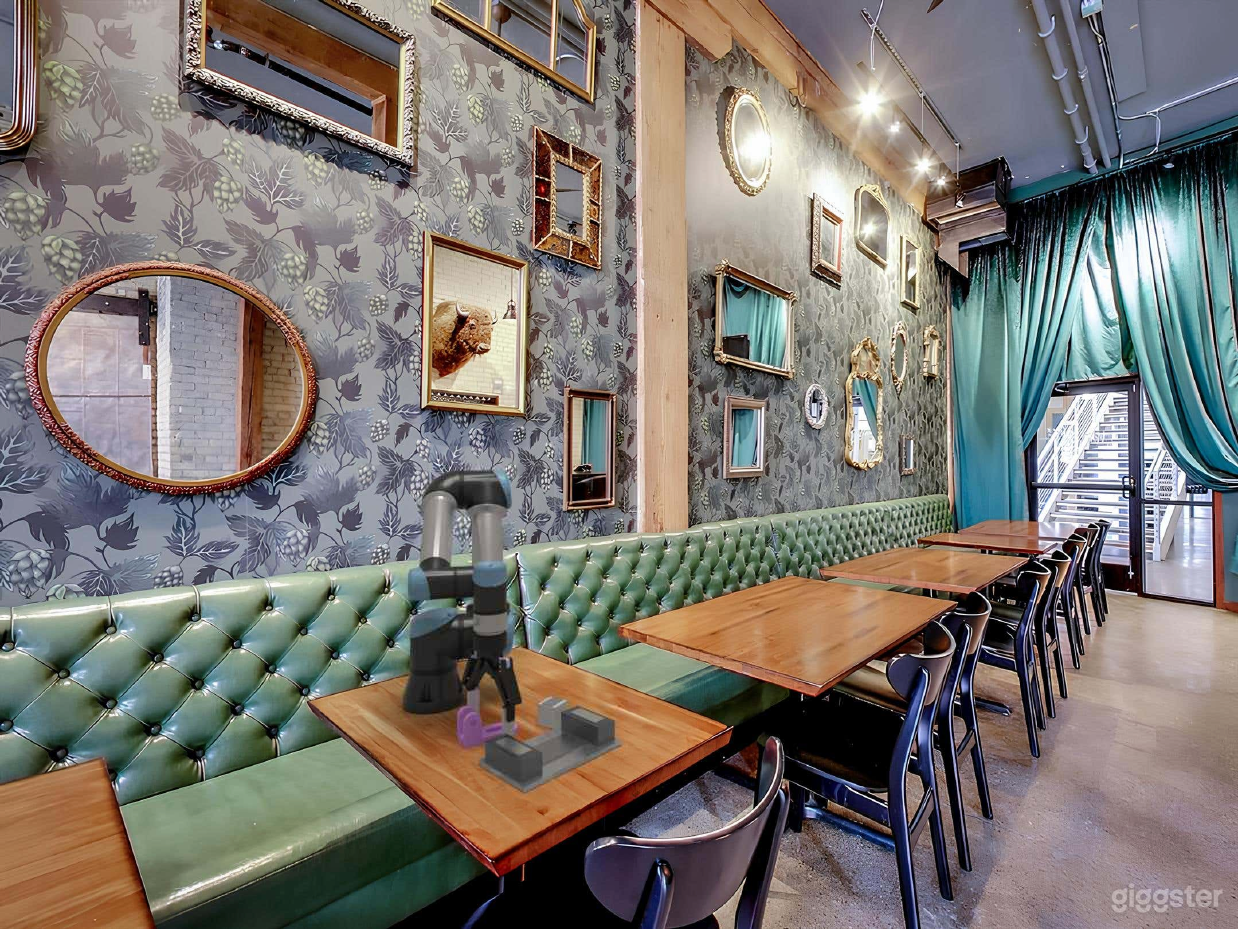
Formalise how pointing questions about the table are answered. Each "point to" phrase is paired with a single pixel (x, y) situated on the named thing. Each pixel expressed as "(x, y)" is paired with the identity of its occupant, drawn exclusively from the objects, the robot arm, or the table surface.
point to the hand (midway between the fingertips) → (490, 727)
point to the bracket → (476, 728)
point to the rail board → (550, 749)
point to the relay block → (551, 712)
